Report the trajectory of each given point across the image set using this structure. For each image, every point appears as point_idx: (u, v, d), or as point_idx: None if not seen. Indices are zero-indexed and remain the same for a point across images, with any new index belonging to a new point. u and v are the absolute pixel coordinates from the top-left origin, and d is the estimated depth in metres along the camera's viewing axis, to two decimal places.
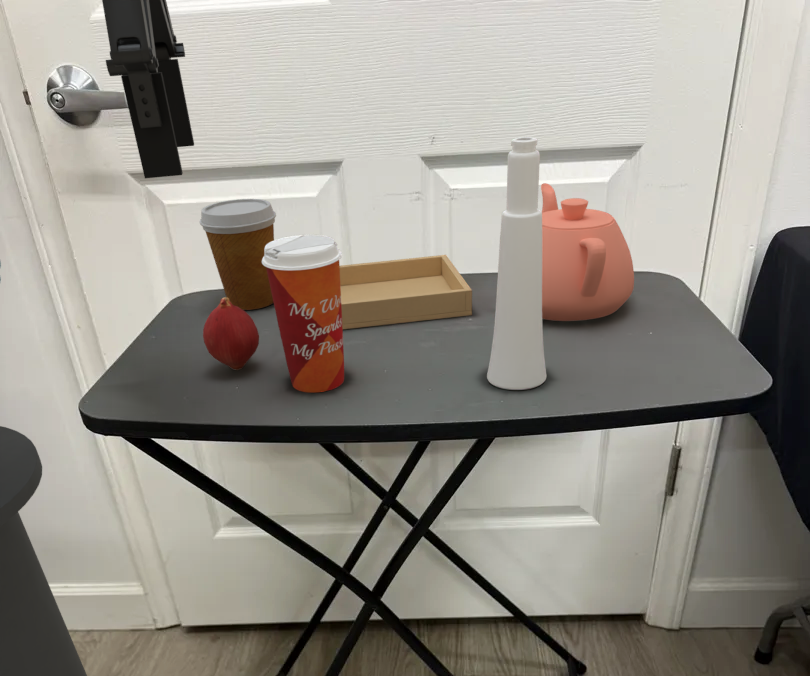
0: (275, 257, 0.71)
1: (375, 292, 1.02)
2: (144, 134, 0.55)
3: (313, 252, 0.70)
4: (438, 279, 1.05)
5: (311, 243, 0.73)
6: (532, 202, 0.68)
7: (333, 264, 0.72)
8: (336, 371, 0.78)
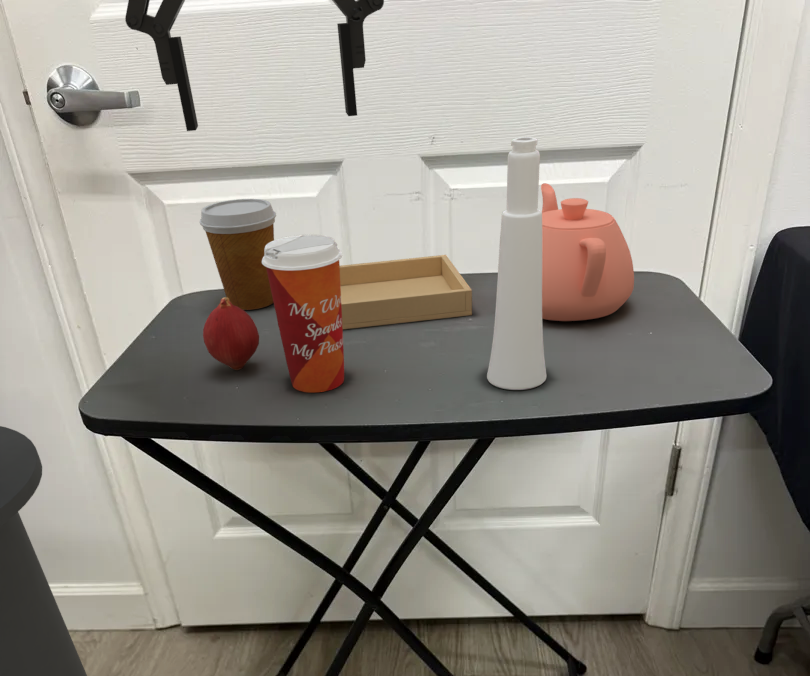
0: (275, 257, 0.71)
1: (375, 292, 1.02)
2: None
3: (313, 252, 0.70)
4: (438, 279, 1.05)
5: (311, 243, 0.73)
6: (532, 202, 0.68)
7: (333, 264, 0.72)
8: (336, 371, 0.78)
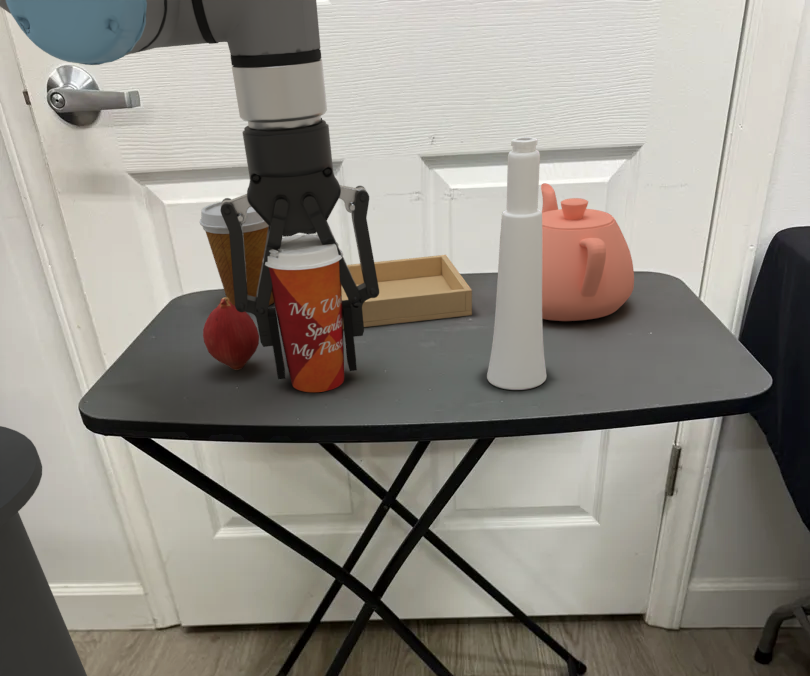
0: (276, 256, 0.71)
1: None
2: None
3: (314, 252, 0.70)
4: (438, 279, 1.05)
5: (312, 243, 0.73)
6: (532, 202, 0.68)
7: (334, 264, 0.72)
8: (336, 371, 0.78)
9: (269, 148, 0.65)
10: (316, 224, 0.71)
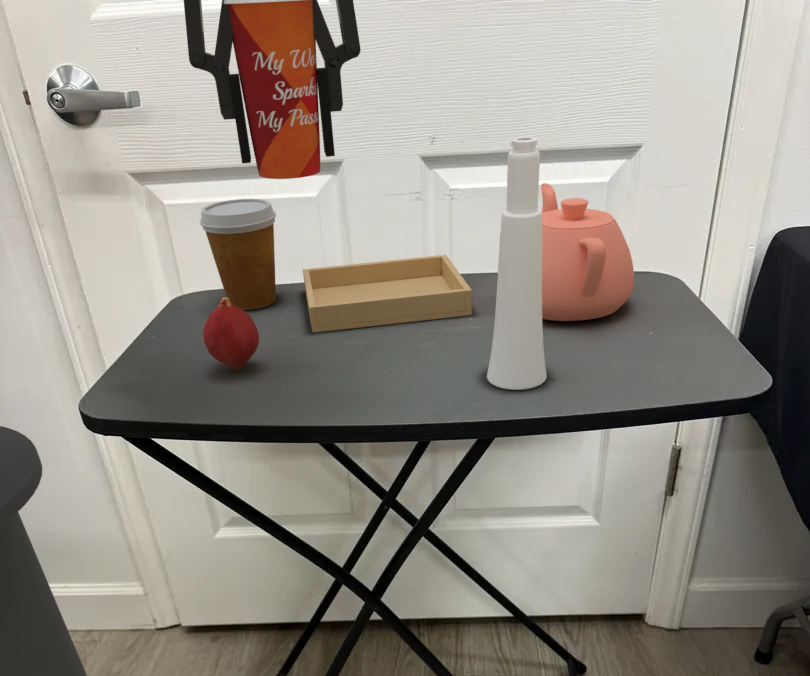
0: None
1: (375, 292, 1.02)
2: None
3: None
4: (438, 279, 1.05)
5: None
6: (532, 202, 0.68)
7: (306, 4, 0.61)
8: (310, 153, 0.67)
9: None
10: None
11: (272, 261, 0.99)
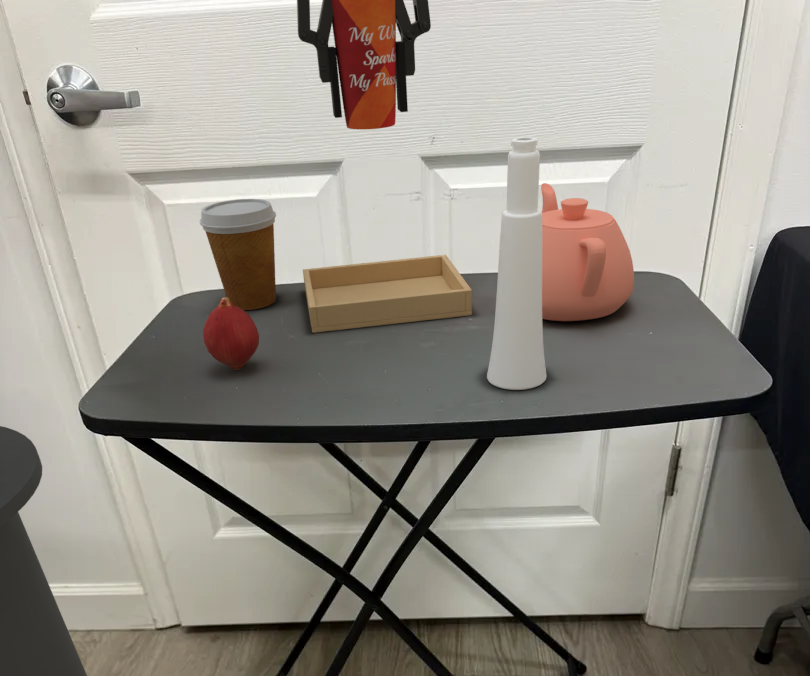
0: None
1: (375, 292, 1.02)
2: None
3: None
4: (438, 279, 1.05)
5: None
6: (532, 202, 0.68)
7: None
8: (389, 108, 0.85)
9: None
10: None
11: (272, 261, 0.99)
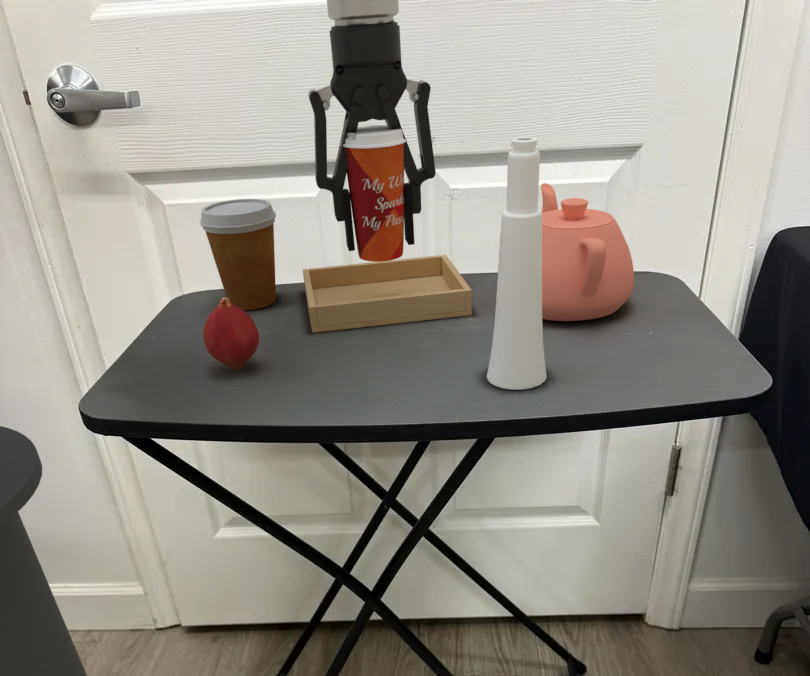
0: (353, 138, 0.86)
1: (375, 292, 1.02)
2: None
3: (385, 133, 0.86)
4: (438, 279, 1.05)
5: (382, 129, 0.88)
6: (532, 202, 0.68)
7: (400, 146, 0.88)
8: (398, 243, 0.94)
9: (353, 41, 0.80)
10: (387, 110, 0.86)
11: (272, 261, 0.99)
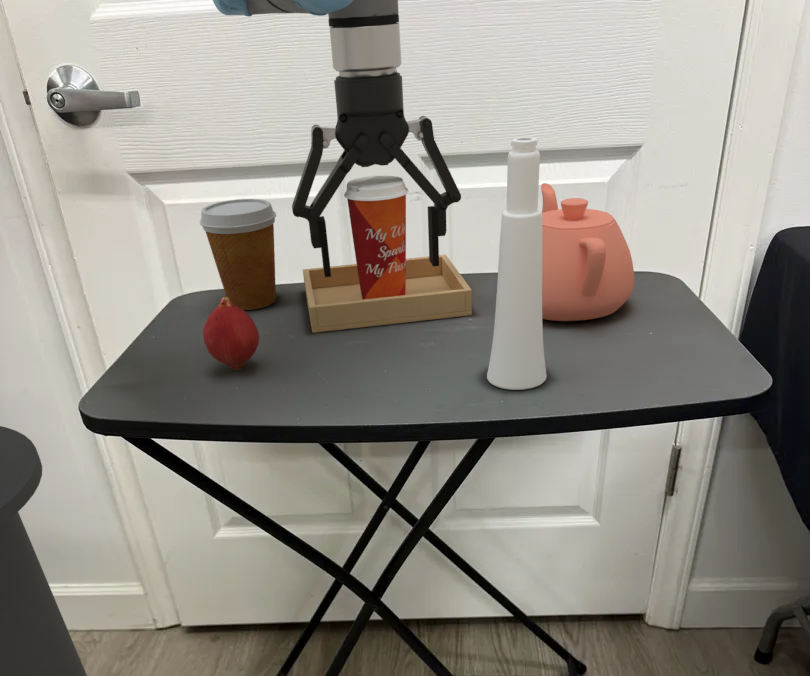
0: (357, 191, 0.90)
1: None
2: None
3: (388, 186, 0.89)
4: (438, 279, 1.05)
5: (384, 181, 0.91)
6: (532, 202, 0.68)
7: (402, 197, 0.91)
8: (400, 288, 0.97)
9: (357, 92, 0.83)
10: (394, 154, 0.88)
11: (272, 261, 0.99)
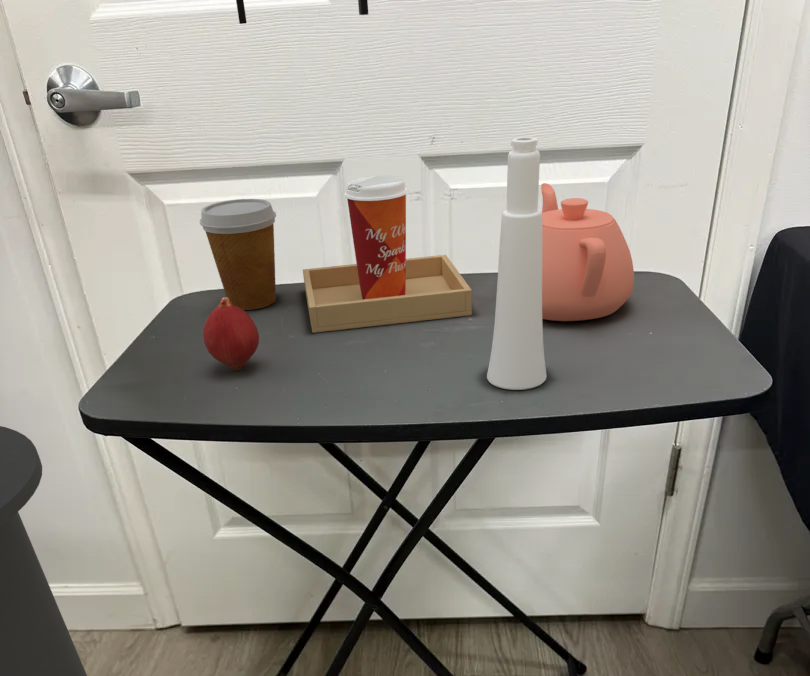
0: (357, 191, 0.90)
1: None
2: None
3: (388, 186, 0.89)
4: (438, 279, 1.05)
5: (384, 181, 0.91)
6: (532, 202, 0.68)
7: (402, 197, 0.91)
8: (400, 288, 0.97)
9: None
10: None
11: (272, 261, 0.99)
